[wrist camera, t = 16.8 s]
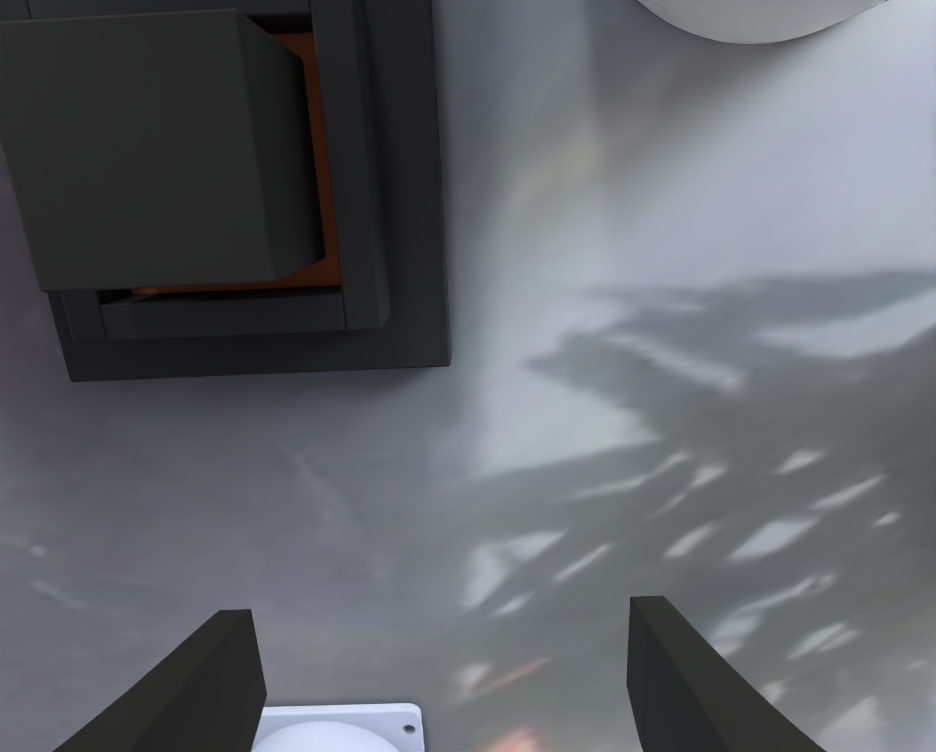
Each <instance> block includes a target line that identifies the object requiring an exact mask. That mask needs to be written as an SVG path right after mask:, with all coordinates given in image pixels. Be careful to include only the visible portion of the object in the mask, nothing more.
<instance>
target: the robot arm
mask: <svg viewBox="0 0 936 752" xmlns="http://www.w3.org/2000/svg"><path fill="white" fill-rule="evenodd" d="M627 688H628V693H629V697H630V701H631V706H632V710H633V715H634V719H635V723H636V727H637V731H638V735H639V739H640V743H641V746H642V749H643V752H826V751H825V750H824V749H822V748H821V747H820V746H818V745H817V744H816V743H815V742H814V741H812V740H811V739H810V738H809V737H808V736H806V735H805V734H804V733H803V732H802V731H800V730H799V729H798V728H797V727H796V726H795V725H793V724H792V723H791V722H790V721H789V720H788V719H787V718H786V717H784V716H783V715H782V714H781V713H780V712H779V711H778V710H777V709H775V708H774V707H773V706H772V705H771V704H770V703H769V702H768V701H767V700H766V699H765V698H763V697H762V696H761V695H760V694H759V693H758V692H757V691H756V690H755V689H754V688H753V687H752V686H751V685H750V684H749V683H748V682H747V681H746V680H745V679H744V678H743V677H742V676H740V675H739V674H738V673H737V672H736V671H735V670H734V669H733V668H732V667H731V666H730V665H729V664H728V663H727V662H726V661H725V660H724V659H723V658H722V657H721V656H720V655H719V654H718V653H717V652H716V651H715V650H714V649H713V648H712V647H711V646H710V644H709V643H708V642H707V641H706V640H705V639H704V638H703V637H702V636H701V635H700V634H699V633H698V632H697V631H696V630H695V629H694V628H693V627H692V626H691V625H690V623H689V622H688V621H687V620H686V619H685V618H684V617H683V616H682V615H681V614H680V613H679V612H678V611H677V609H676V608H675V607H674V606H673V605H672V604H671V603H670V602H669V601H668V600H667V599H666V598H665V597H664V596H642V597H630V616H629V639H628V661H627ZM266 696H267V692H266V686H265V681H264V676H263V671H262V665H261V660H260V655H259V650H258V644H257V639H256V634H255V628H254V623H253V618H252V613H251V609H244V610H219V611H218V612H217V613H216V614H214V615H213V616H212V617H211V618H210V619H208V620H207V621H206V622H205V623H204V624H203V625H202V626H200V627H199V628H198V629H197V630H196V631H195V632H194V633H192V634H191V635H190V636H189V637H188V638H187V639H186V640H185V641H184V642H182V643H181V644H180V645H179V646H178V647H177V648H176V649H175V650H173V651H172V652H171V653H170V654H169V655H168V656H167V657H166V658H165V659H163V660H162V661H161V662H160V663H159V664H158V665H157V666H155V667H154V668H153V669H152V670H151V671H150V672H149V673H147V674H146V675H145V676H144V677H143V678H142V679H141V680H139V681H138V682H137V683H136V684H135V685H134V686H133V687H131V688H130V689H129V690H128V691H127V692H126V693H124V694H123V695H122V696H121V697H120V698H118V699H117V700H116V701H115V702H114V703H112V704H111V705H110V706H109V707H107V708H106V709H105V710H104V711H102V712H101V713H100V714H99V715H98V716H96V717H95V718H94V719H93V720H91V721H90V722H89V723H88V724H87V725H85V726H84V727H83V728H82V729H80V730H79V731H78V732H77V733H75V734H74V735H73V736H72V737H71V738H69V739H68V740H67V741H66V742H64V743H63V744H62V745H60V746H59V747H58V748H56V749H55V750H54V751H53V752H425V749H424V738H423V726H422V715H421V710H420V708H419V707H418V706H416V705H414V704H412V703H391V704H357V705H322V706H287V707H264V704H265V700H266ZM406 725H411V727H409V726H406Z"/></svg>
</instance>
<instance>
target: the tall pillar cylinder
mask: <svg viewBox="0 0 936 752" xmlns="http://www.w3.org/2000/svg"><path fill="white" fill-rule="evenodd" d="M638 1H639V2H640V3H642V4H643V5H644V6H645V7H646V8H648V9H649V10H650V11H652V12H653V13H654V14H656V15H657V16H659V17H660V18H662V19H663V20H665V21H667V22H668V23H670V24H672V25H674V26H676V27H678V28H680V29H682V30H684V31H687V32H689V33H692V34H695V35H698V36H701V37H704V38H707V39H712V40H716V41H721V42H728V43H738V44H762V43H772V42H779V41H785V40H790V39H794V38H798V37H802V36H805V35H808V34H811V33H814V32H817V31H820V30H822V29H825V28H827V27H830V26H832V25H834V24H837V23H839V22H841V21H843V20H845V19H848V18H850V17H852V16H854V15H857V14H859V13H861V12H863V11H865V10H868V9H870V8H872V7H874V6H876V5H879V4H881V3H883V2H885V1H887V0H638Z"/></svg>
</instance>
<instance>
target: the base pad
mask: <svg viewBox="0 0 936 752" xmlns="http://www.w3.org/2000/svg"><path fill="white" fill-rule="evenodd" d="M233 8H234V9H236V10H238V11H239V12H240V13H242V14H243V15H244V16H246V17H247V18H248V19H250V20H251V21H252V22H254V23H255V24H256V25H258V26H259V27H260V28H262V29H263V30H264V31H266V32H267V33H268V34H270V35H271V36H272V37H274V38H275V39H276V40H278V41H279V42H280V43H282V44H283V45H284V46H286V47H287V48H288V49H290V50H291V51H292V52H294V53H295V54H296V55H298V56H299V57H300V58H302V60H303V67H304V75H305V84H306V92H307V101H308V109H309V118H310V126H311V135H312V143H313V151H314V160H315V168H316V177H317V185H318V194H319V202H320V211H321V219H322V228H323V236H324V245H325V253H326V257H325V258H324V259H322V260H320V261H318V262H315V263H313V264H311V265H309V266H307V267H305V268H303V269H301V270H299V271H297V272H294V273H292V274H290V275H288V276H286V277H284V278H282V279H280V280H278V281H275V282H269V283H247V284H224V285H202V286H180V287H158V288H136V289H114V290H92V291H70V292H48V293H47V294H48V298H49V302H50V306H51V309H52V313H53V317H54V321H55V325H56V328H57V332H58V336H59V340H60V343H61V347H62V351H63V355H64V359H65V362H66V366H67V370H68V374H69V377H70V381H71V382H85V381H109V380H133V379H156V378H180V377H204V376H228V375H252V374H276V373H300V372H324V371H348V370H371V369H395V368H419V367H443V366H450V364H451V339H450V321H449V304H448V286H447V269H446V251H445V234H444V216H443V199H442V181H441V164H440V146H439V129H438V111H437V94H436V76H435V58H434V41H433V23H432V6H431V0H0V22H2V21H19V20H37V19H55V18H73V17H91V16H109V15H126V14H144V13H162V12H180V11H198V10H216V9H233Z"/></svg>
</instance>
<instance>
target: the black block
mask: <svg viewBox="0 0 936 752" xmlns="http://www.w3.org/2000/svg"><path fill="white" fill-rule="evenodd" d="M0 143H1V147H2V151H3V154H4V158H5V162H6V166H7V169H8V173H9V177H10V181H11V184H12V188H13V192H14V195H15V199H16V203H17V207H18V210H19V214H20V218H21V222H22V225H23V229H24V233H25V237H26V240H27V244H28V248H29V251H30V255H31V259H32V263H33V266H34V270H35V274H36V278H37V281H38V285H39V289H40V291H41V292H44V293H48V292H70V291H92V290H114V289H136V288H158V287H180V286H202V285H224V284H247V283H269V282H275V281H278V280H280V279H282V278H284V277H286V276H288V275H290V274H292V273H294V272H297V271H299V270H301V269H303V268H305V267H307V266H309V265H311V264H313V263H315V262H318V261H320V260H322V259H324V258H325V257H326V253H325V245H324V236H323V228H322V219H321V211H320V202H319V194H318V185H317V177H316V168H315V160H314V151H313V143H312V135H311V126H310V118H309V109H308V101H307V92H306V84H305V75H304V67H303V60H302V58H300V57H299V56H298V55H296V54H295V53H294V52H292V51H291V50H290V49H288V48H287V47H286V46H284V45H283V44H282V43H280V42H279V41H278V40H276V39H275V38H274V37H272V36H271V35H270V34H268V33H267V32H266V31H264V30H263V29H262V28H260V27H259V26H258V25H256V24H255V23H254V22H252V21H251V20H250V19H248V18H247V17H246V16H244V15H243V14H242V13H240V12H239V11H238V10H236V9H234V8H233V9H216V10H198V11H180V12H162V13H144V14H126V15H109V16H91V17H73V18H55V19H37V20H19V21H2V22H0Z"/></svg>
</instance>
